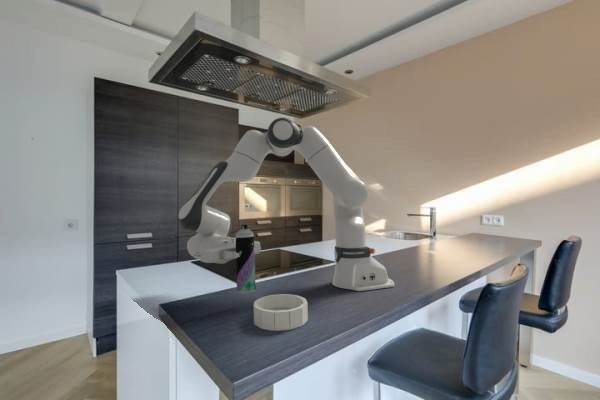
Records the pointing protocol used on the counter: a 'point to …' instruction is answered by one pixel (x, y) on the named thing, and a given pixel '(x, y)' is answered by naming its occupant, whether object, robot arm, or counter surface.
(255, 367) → the counter surface
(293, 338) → the counter surface
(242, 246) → the spray can
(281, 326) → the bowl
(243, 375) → the counter surface
